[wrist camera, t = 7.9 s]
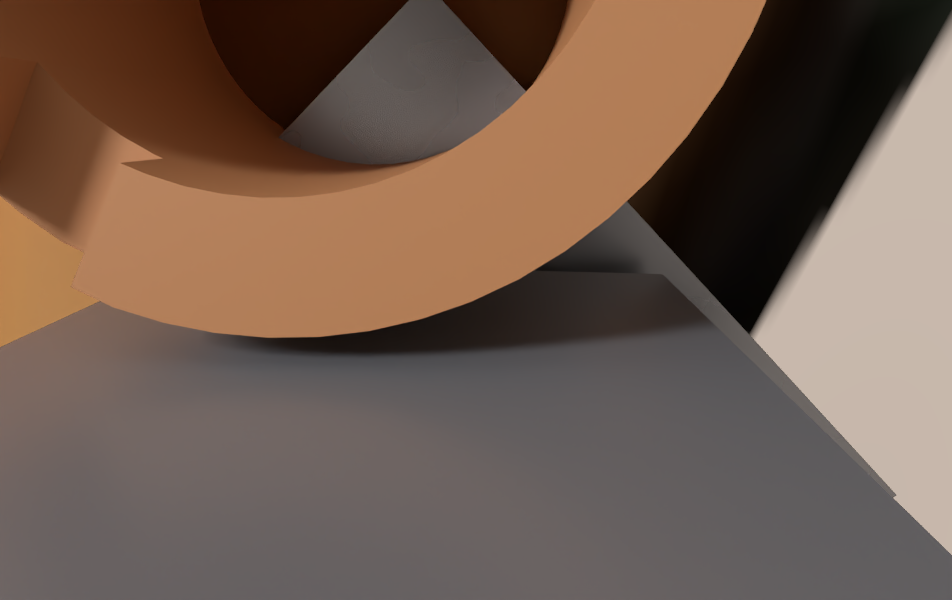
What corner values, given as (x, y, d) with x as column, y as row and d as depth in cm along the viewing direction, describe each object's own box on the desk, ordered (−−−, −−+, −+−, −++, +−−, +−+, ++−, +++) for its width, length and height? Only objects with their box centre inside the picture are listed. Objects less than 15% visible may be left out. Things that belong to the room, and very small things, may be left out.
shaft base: (431, -6, 12) (367, -130, 6) (867, 468, 14) (1147, 729, 8) (3, 442, 14) (-357, 672, 8) (427, 811, 15) (383, 1228, 10)
